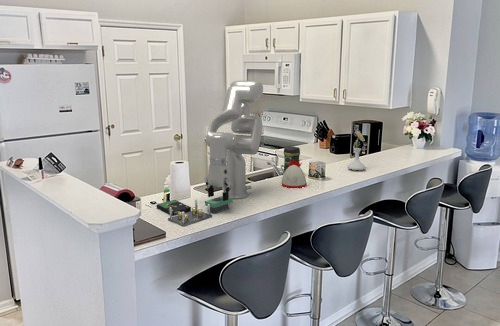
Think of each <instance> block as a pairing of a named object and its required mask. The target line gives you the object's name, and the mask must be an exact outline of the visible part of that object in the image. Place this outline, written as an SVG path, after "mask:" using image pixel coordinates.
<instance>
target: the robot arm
mask: <svg viewBox="0 0 500 326" xmlns="http://www.w3.org/2000/svg"><path fill="white" fill-rule="evenodd" d="M225 93H226V94H225V98H224V101H223V106H222V109H221V110H222V111H221V112H220V113H218V114H217V115H216V116H215V117H214V118H213V119H212V120H211V121H210V123H209V125H208V128H207V133H206V138H205V142H206V145H207V147H209V164H208V171H207V176H206V177H204V178H203V179H204V182H205V186H206V189H207V197H208V198H212V197H214V196H215V188H214V187H216V188H221V189H222V196H223V201H226V200H228V199H229V197H231V198H233V200H235V199H237V200H238V199H245V198H247V197H249V196H250V194H249V192H248V190H251V189H252V185H251V184H250V185H246V184H247V183H246V176H247V175H246V173H247V172H246V169H247V168H246V166H247V165H246V159H245V158H244V156H243V155H249V156H250V155H251V156H252V155H253V156H254V155H256V154H258V152H259V149H260V145H261V138H262V132H263V120H262V118H261V117H260V116H259V115H251V106H250V104H252V103H253V104H254V103H255V102H257V101H258V100H259V99H260V98H261V97H262V95H263V93H264V85H263V82H261V81H259V80H234V81H232V82H231V83H230V86H229V87H228V89H227V90H226V92H225ZM228 123H231V125H230V126H231V129H230V130H231V131H232V132H224V131H223V132H221V131H220V132H219V131H218V130H219V128H220V127H222V126H224V125H225V124H226V125H227V124H228ZM217 131H218V132H217Z"/></svg>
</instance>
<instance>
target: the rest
mask: <svg viewBox="0 0 500 326" xmlns="http://www.w3.org/2000/svg"><path fill="white" fill-rule="evenodd" d="M229 205H230V203H228V204H225V205H222V206H219V207H216V208H212V207H210V213H214V214H216V213H218V212H222V211H225V210H228V209H230V207H229Z"/></svg>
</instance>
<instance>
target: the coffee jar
mask: <svg viewBox="0 0 500 326" xmlns="http://www.w3.org/2000/svg"><path fill="white" fill-rule="evenodd" d="M300 155H301V149H300V146H299V147H298V146H293V145H292V146H291V145H287V146H284V149H283V156H284V159H283V160H284V161H283V162H284V163H283V175H284V172H285V171H286V169H287V168H288V164H289V165H290V161H291V163H292V160H294V163H295V160H296V162H297V163H298V161H299V162H300ZM287 163H288V164H287ZM283 175H282V176H283Z"/></svg>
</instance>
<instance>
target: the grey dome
mask: <svg viewBox="0 0 500 326" xmlns="http://www.w3.org/2000/svg"><path fill="white" fill-rule="evenodd" d="M287 164H288V163H287ZM302 164H303V162H301V163H300V160H299V161H298V163H297V162H296V160H295V163H294V160H292V163H291V161H290V165H289V164H288V168H287V169H286V171H285V172H284V171H283V173H284V175H282V178H281V184H282V185H281V186H282V187H283V188H285V187H287V188H286V189H290V188H299V189H303V188H302V187H304V188H306V187H307V178H306V175H305V173H304V171H303V169H302V168H301V165H302ZM305 186H306V187H305Z"/></svg>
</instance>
